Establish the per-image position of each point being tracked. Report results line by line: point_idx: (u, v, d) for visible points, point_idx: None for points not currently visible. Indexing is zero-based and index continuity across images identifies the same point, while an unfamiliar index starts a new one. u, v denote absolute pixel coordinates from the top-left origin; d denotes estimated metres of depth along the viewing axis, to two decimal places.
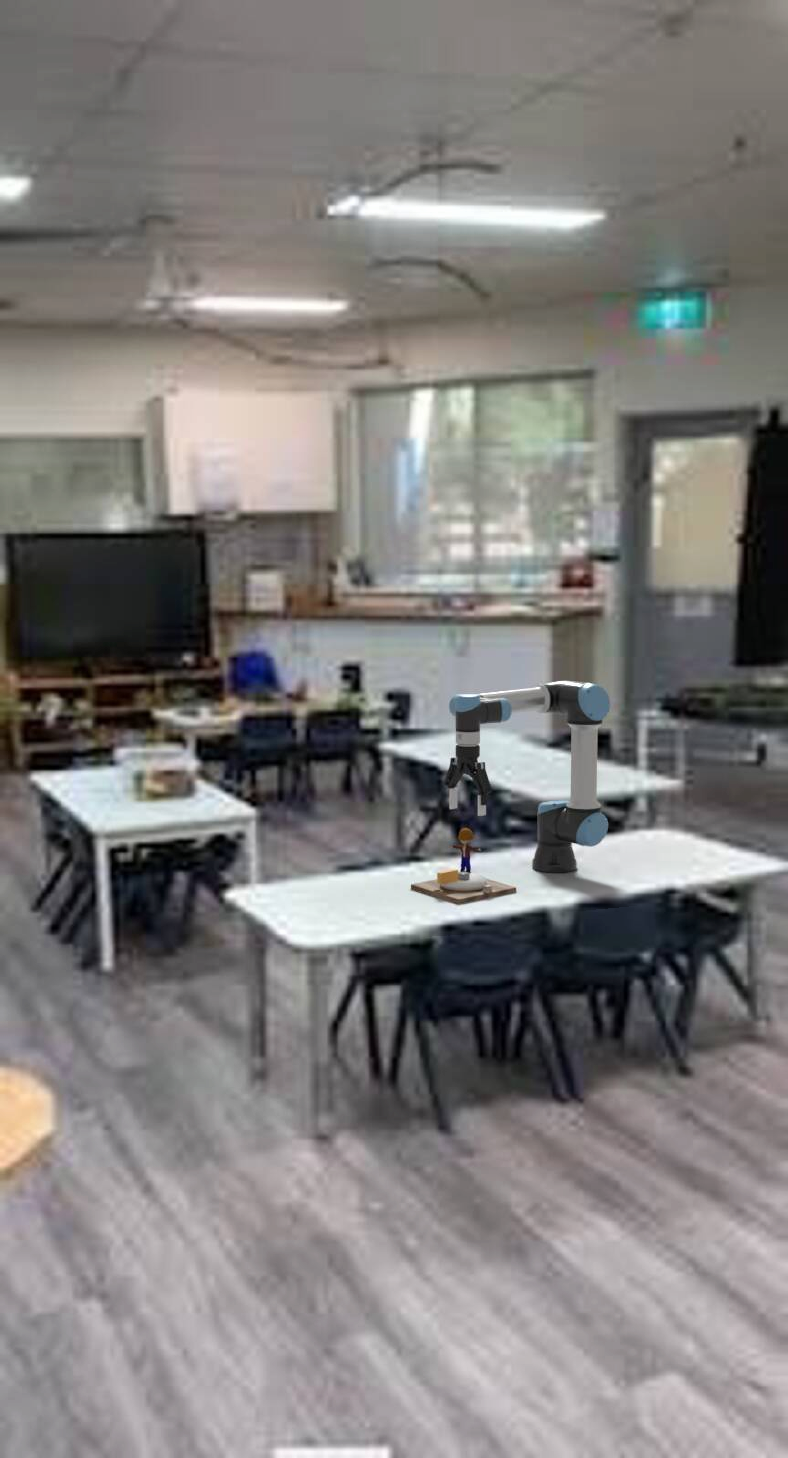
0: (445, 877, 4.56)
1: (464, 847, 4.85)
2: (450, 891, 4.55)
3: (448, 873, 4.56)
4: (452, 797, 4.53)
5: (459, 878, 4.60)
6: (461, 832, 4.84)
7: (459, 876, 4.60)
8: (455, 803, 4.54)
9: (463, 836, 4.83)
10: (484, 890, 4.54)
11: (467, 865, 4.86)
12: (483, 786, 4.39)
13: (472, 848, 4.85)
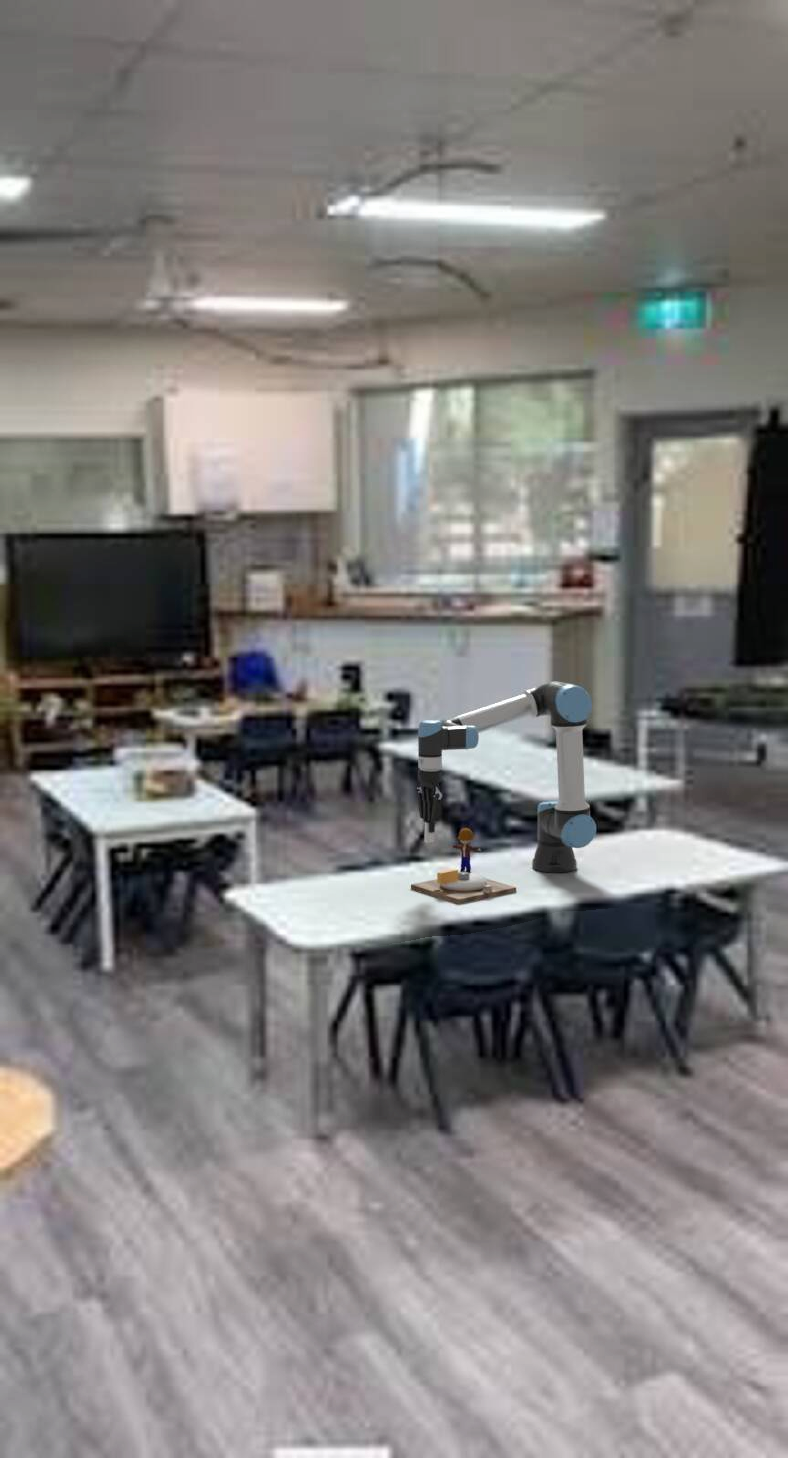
0: (445, 877, 4.56)
1: (464, 847, 4.85)
2: (450, 891, 4.55)
3: (448, 873, 4.56)
4: None
5: (459, 878, 4.60)
6: (461, 832, 4.84)
7: (459, 876, 4.60)
8: None
9: (463, 836, 4.83)
10: (484, 890, 4.54)
11: (467, 865, 4.86)
12: (432, 815, 4.56)
13: (472, 848, 4.85)
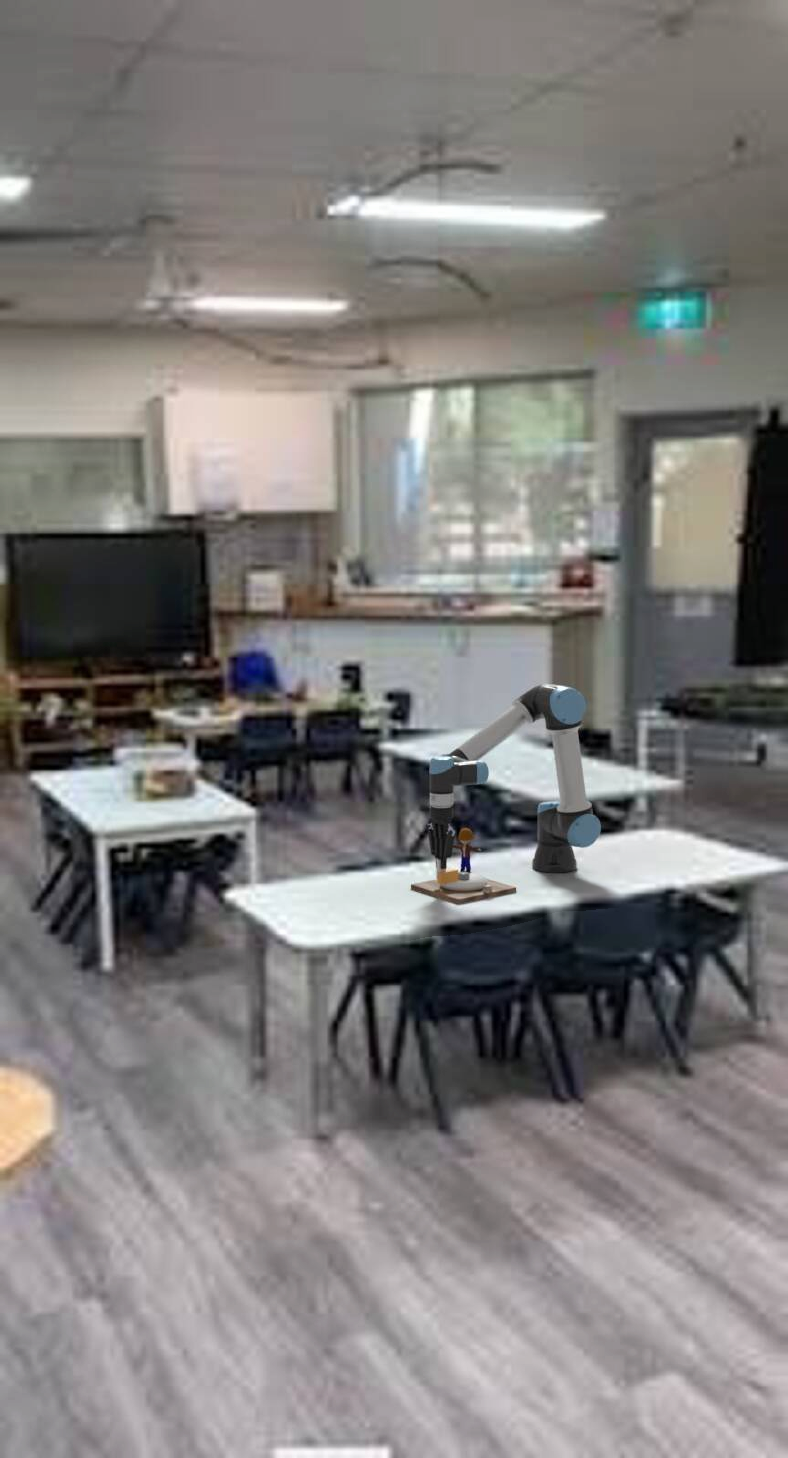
0: (445, 877, 4.56)
1: (464, 847, 4.85)
2: (450, 891, 4.55)
3: (448, 873, 4.56)
4: None
5: (459, 878, 4.60)
6: (461, 832, 4.84)
7: (459, 876, 4.60)
8: None
9: (463, 836, 4.83)
10: (484, 890, 4.54)
11: (467, 865, 4.86)
12: (445, 851, 4.53)
13: (472, 848, 4.85)
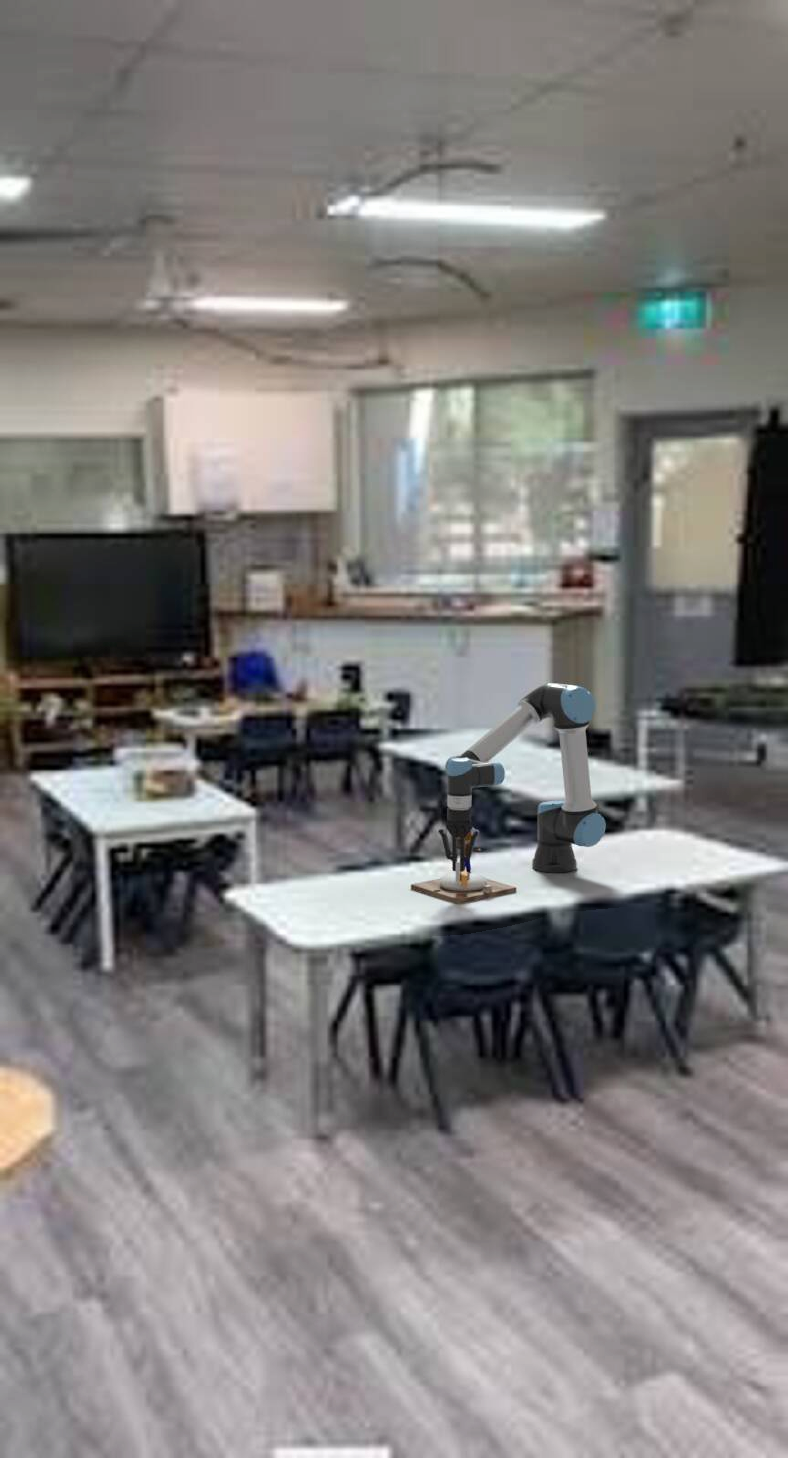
0: None
1: None
2: (450, 891, 4.55)
3: (467, 874, 4.54)
4: None
5: None
6: None
7: None
8: None
9: None
10: (484, 890, 4.54)
11: (467, 865, 4.86)
12: (469, 853, 4.51)
13: None
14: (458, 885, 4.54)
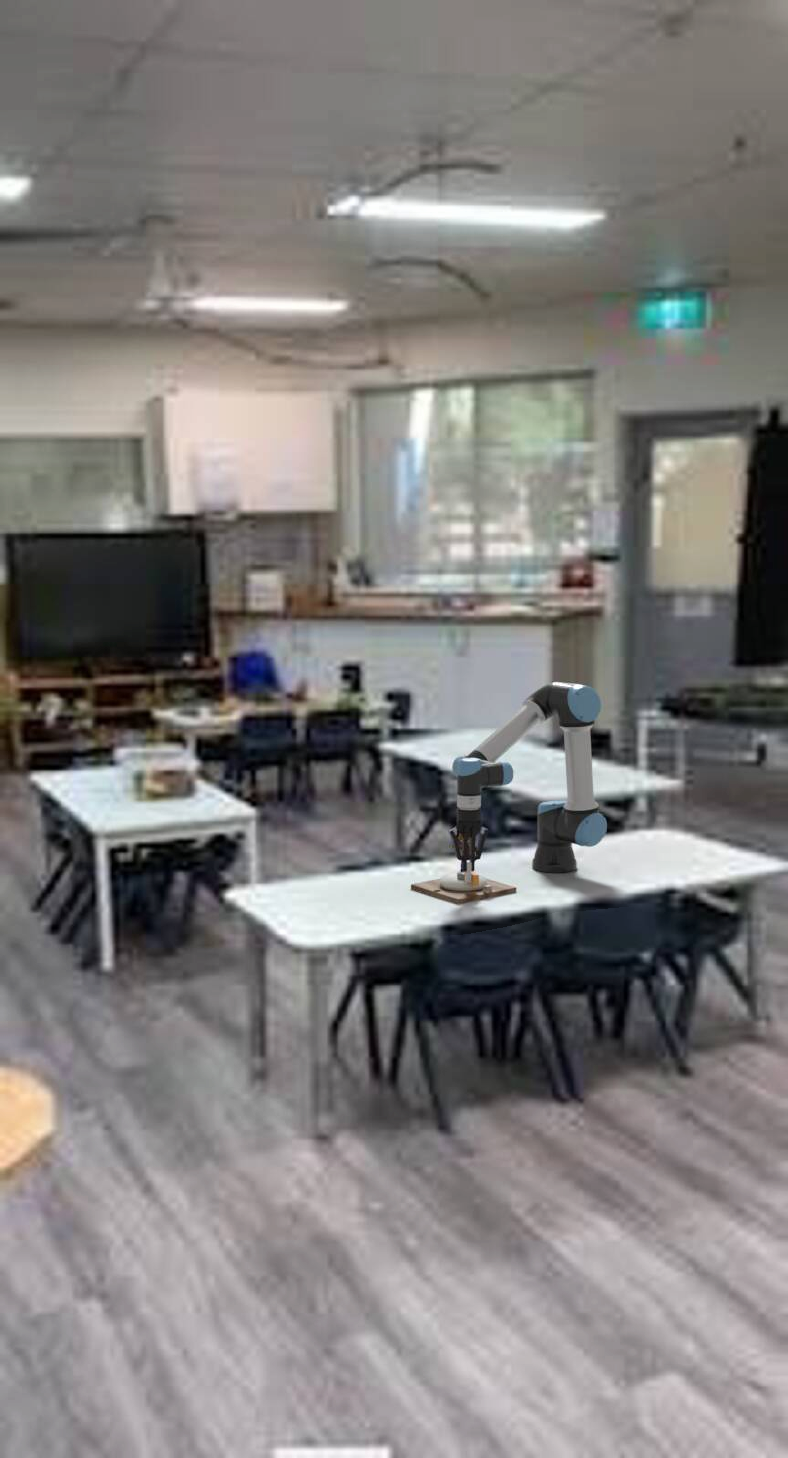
0: None
1: None
2: (450, 891, 4.55)
3: None
4: None
5: None
6: None
7: None
8: None
9: None
10: (484, 890, 4.54)
11: None
12: (480, 852, 4.52)
13: None
14: (467, 885, 4.54)
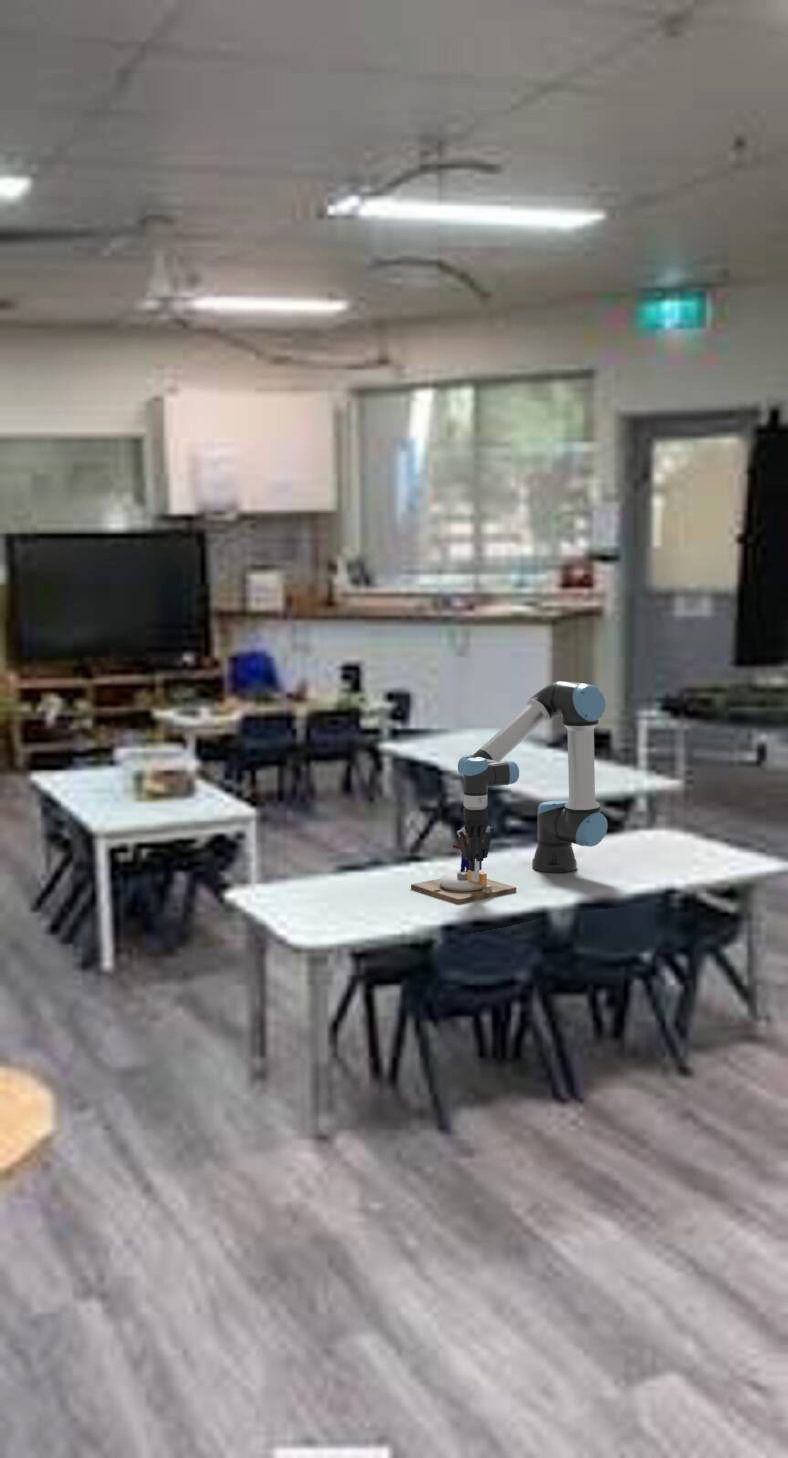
0: None
1: None
2: (450, 891, 4.55)
3: None
4: None
5: (468, 878, 4.60)
6: None
7: (468, 876, 4.60)
8: None
9: None
10: (484, 890, 4.54)
11: (467, 865, 4.86)
12: (487, 851, 4.54)
13: None
14: (474, 885, 4.55)
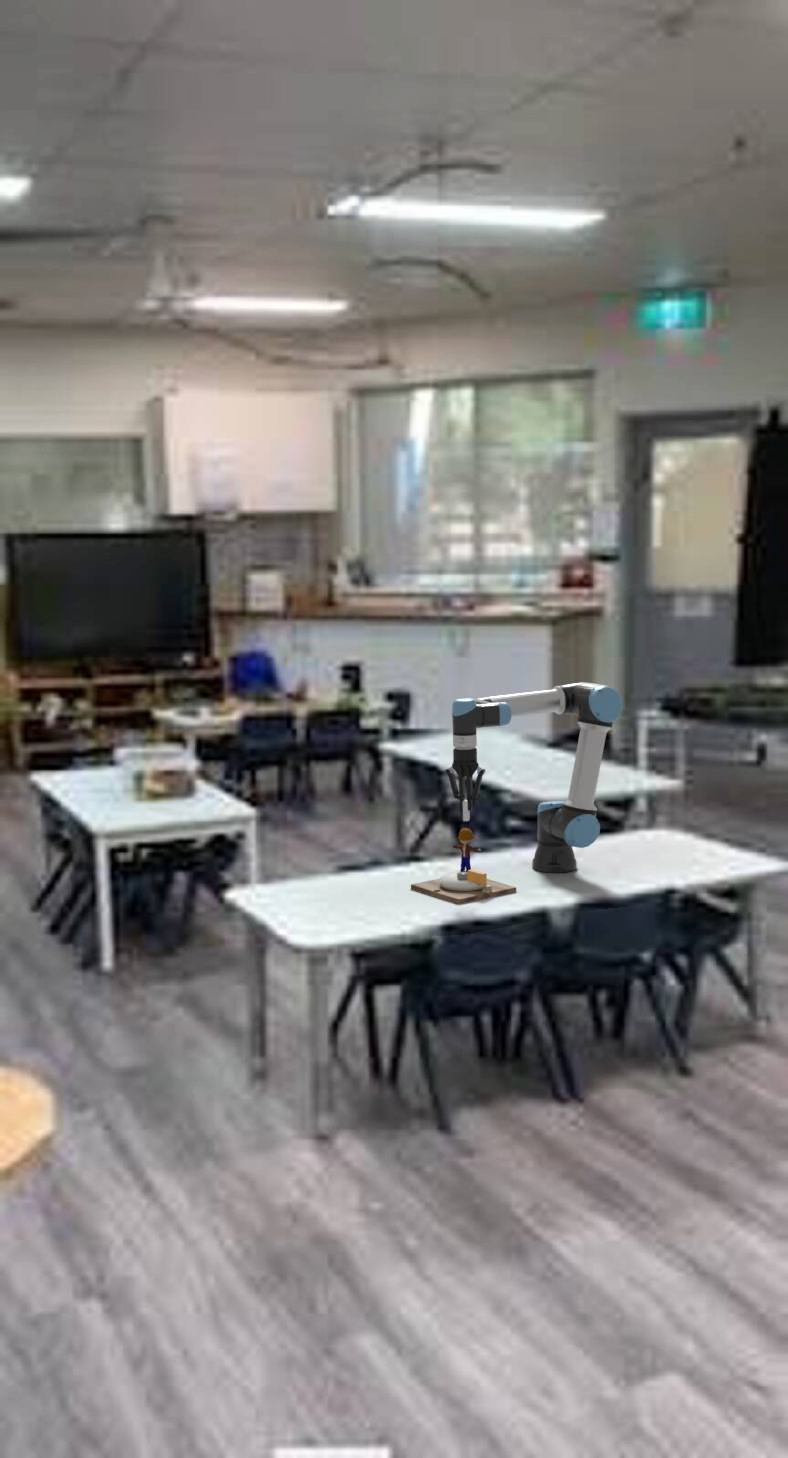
0: None
1: (464, 847, 4.85)
2: (450, 891, 4.55)
3: None
4: None
5: (468, 878, 4.60)
6: (461, 832, 4.84)
7: (468, 876, 4.60)
8: None
9: (463, 836, 4.83)
10: (484, 890, 4.54)
11: (467, 865, 4.86)
12: (475, 792, 4.57)
13: (472, 848, 4.85)
14: (474, 885, 4.55)
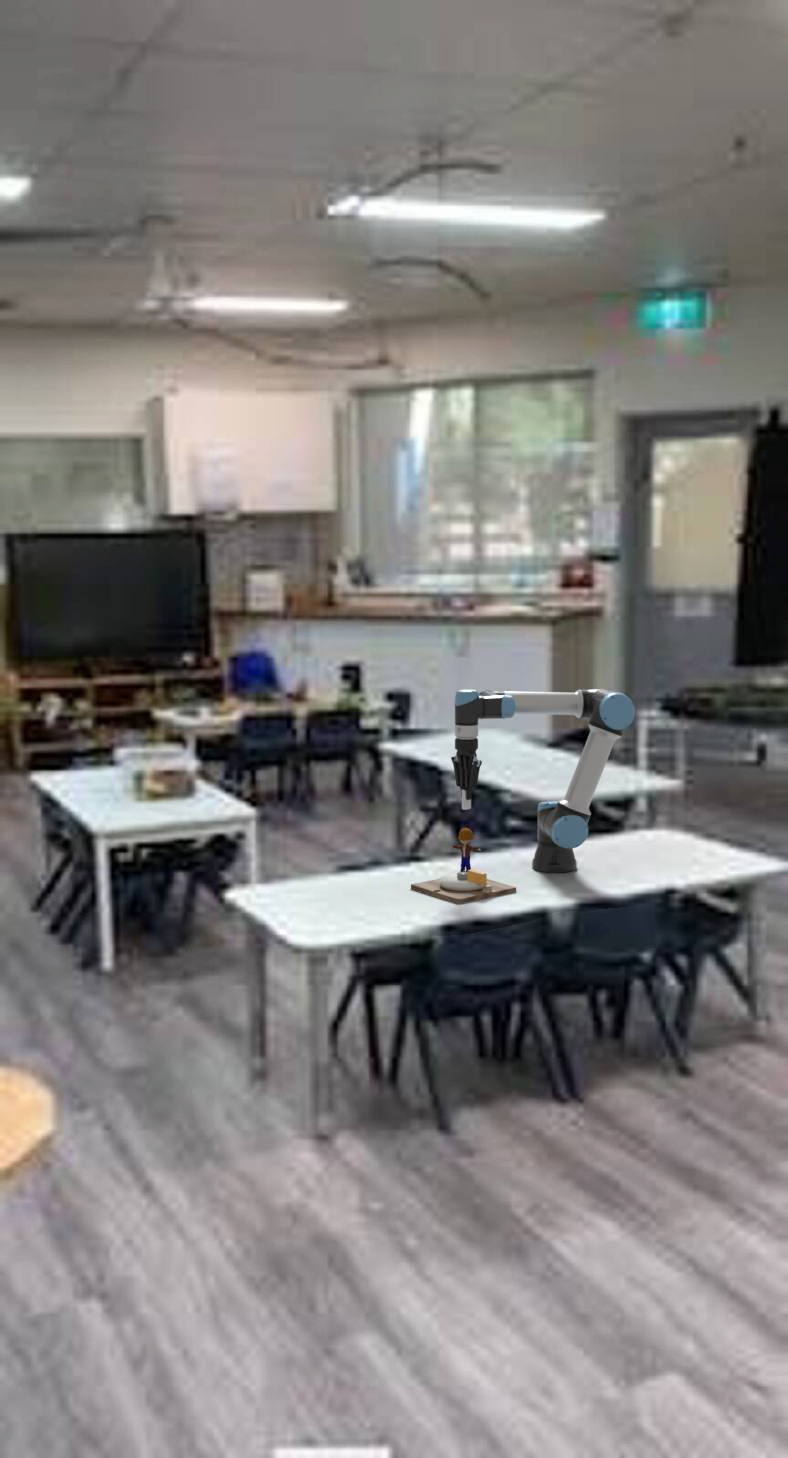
0: None
1: (464, 847, 4.85)
2: (450, 891, 4.55)
3: None
4: None
5: (468, 878, 4.60)
6: (461, 832, 4.84)
7: (468, 876, 4.60)
8: None
9: (463, 836, 4.83)
10: (484, 890, 4.54)
11: (467, 865, 4.86)
12: (470, 782, 4.65)
13: (472, 848, 4.85)
14: (474, 885, 4.55)
